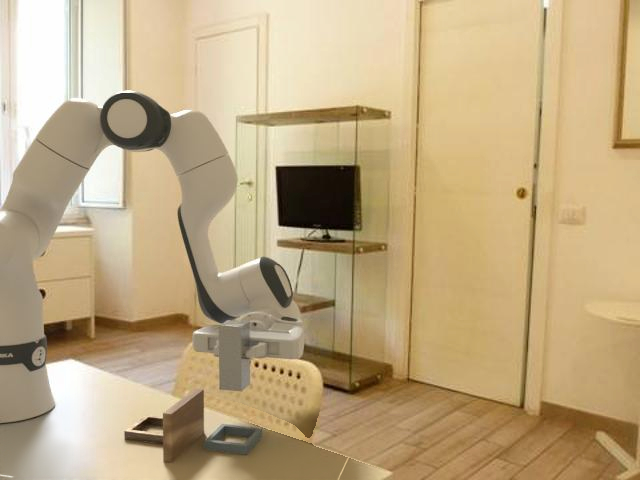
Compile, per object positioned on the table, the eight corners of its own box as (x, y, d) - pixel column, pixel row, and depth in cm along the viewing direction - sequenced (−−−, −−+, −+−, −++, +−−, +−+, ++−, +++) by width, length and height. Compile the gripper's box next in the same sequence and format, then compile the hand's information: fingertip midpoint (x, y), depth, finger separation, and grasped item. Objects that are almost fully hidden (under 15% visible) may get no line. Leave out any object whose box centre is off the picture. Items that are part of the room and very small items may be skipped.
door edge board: (163, 461, 99) (162, 413, 98) (196, 431, 110) (195, 388, 109) (171, 462, 98) (171, 414, 98) (204, 432, 110) (203, 389, 109)
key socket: (124, 439, 107) (124, 431, 107) (147, 422, 114) (147, 414, 114) (164, 444, 105) (164, 435, 105) (184, 427, 112) (184, 419, 112)
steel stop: (219, 389, 103) (218, 325, 102) (228, 381, 107) (227, 320, 106) (241, 391, 103) (241, 327, 101) (250, 383, 106) (249, 321, 105)
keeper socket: (204, 449, 103) (204, 441, 103) (222, 431, 110) (222, 423, 110) (246, 455, 101) (246, 446, 101) (262, 436, 109) (262, 428, 108)
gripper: (209, 314, 119) (176, 331, 106) (311, 320, 114) (289, 339, 101) (210, 345, 120) (176, 366, 106) (311, 353, 115) (289, 376, 101)
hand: (232, 353), depth 103 cm, fingers closed on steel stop, 4 cm apart
